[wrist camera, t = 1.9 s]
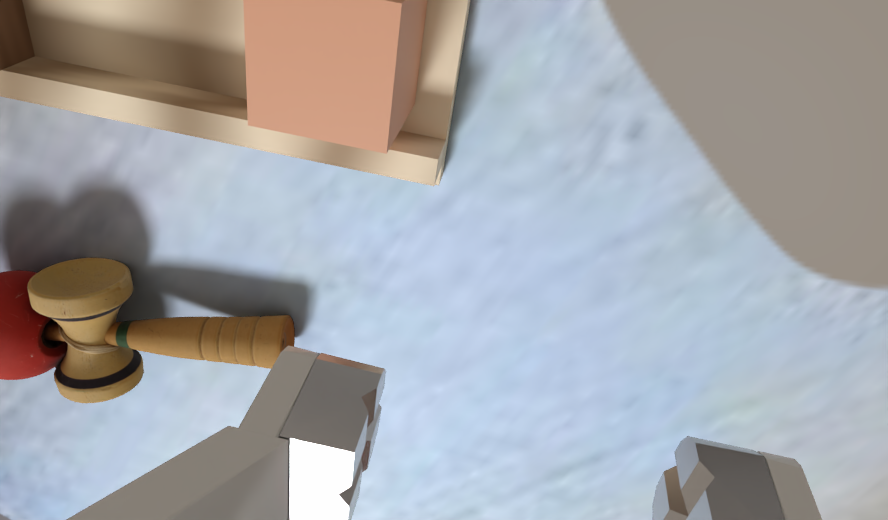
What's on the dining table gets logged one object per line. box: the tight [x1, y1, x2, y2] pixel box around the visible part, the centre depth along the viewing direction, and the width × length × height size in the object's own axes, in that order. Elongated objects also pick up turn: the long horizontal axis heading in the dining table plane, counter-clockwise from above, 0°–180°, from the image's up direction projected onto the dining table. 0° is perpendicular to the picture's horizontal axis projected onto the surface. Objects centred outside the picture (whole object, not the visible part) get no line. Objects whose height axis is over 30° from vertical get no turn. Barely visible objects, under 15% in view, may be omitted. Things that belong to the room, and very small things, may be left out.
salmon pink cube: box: [243, 0, 428, 154], centre depth 23 cm, size 5×5×5 cm
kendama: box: [0, 258, 295, 403], centre depth 34 cm, size 8×6×18 cm
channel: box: [0, 0, 471, 186], centre depth 23 cm, size 20×12×6 cm, turn 82°
